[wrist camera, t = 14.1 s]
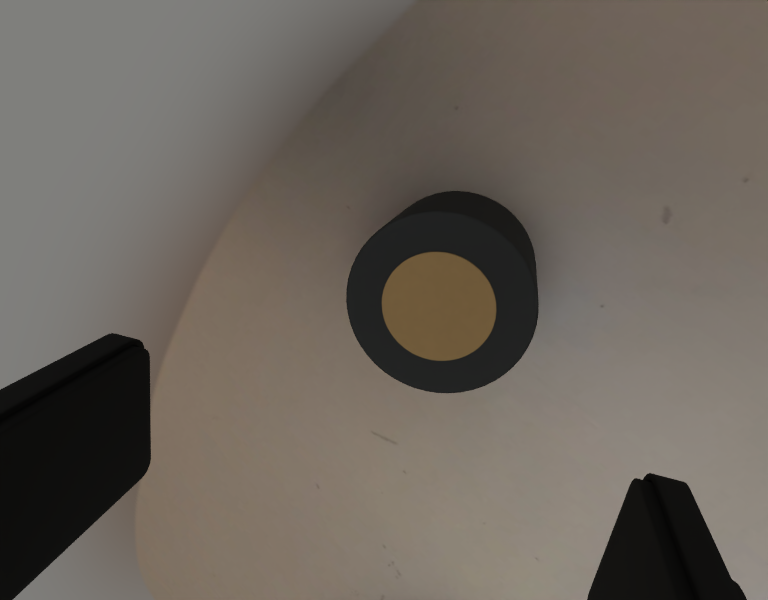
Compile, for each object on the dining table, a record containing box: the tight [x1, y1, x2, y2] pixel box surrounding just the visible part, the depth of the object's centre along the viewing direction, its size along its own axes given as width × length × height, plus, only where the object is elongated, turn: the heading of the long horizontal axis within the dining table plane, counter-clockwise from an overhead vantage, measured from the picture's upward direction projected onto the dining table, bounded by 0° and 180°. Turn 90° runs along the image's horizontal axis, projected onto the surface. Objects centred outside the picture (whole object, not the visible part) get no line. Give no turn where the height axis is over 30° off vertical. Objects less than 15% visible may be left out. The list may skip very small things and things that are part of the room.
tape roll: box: [346, 191, 538, 393], centre depth 20 cm, size 6×6×5 cm
